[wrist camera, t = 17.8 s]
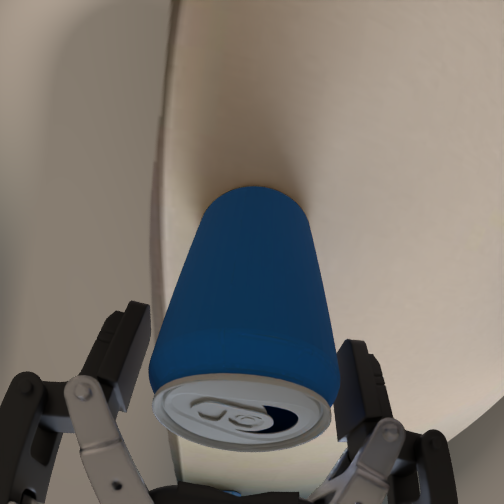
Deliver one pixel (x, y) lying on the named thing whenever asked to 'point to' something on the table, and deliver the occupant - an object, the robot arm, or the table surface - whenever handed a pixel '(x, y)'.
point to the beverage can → (247, 331)
